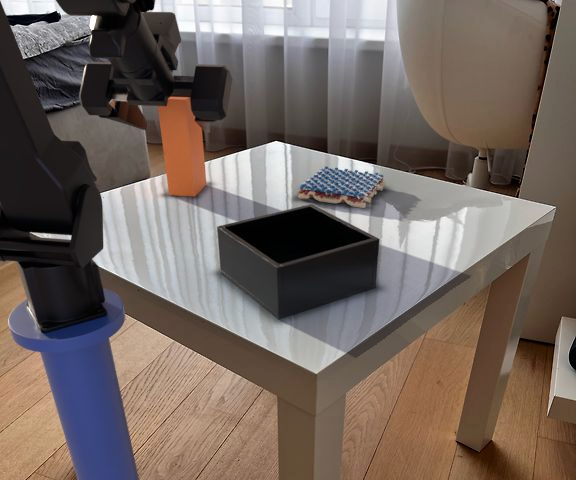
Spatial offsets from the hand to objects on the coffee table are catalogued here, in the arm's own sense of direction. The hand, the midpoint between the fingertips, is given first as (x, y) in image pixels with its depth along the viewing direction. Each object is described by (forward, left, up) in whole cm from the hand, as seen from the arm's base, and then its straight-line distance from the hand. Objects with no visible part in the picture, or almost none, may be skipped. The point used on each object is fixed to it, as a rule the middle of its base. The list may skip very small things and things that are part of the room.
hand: (177, 128), depth 85 cm
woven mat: (+19, -13, -9) cm, 25 cm away
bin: (-2, -33, -9) cm, 34 cm away
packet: (+1, +1, -9) cm, 9 cm away
